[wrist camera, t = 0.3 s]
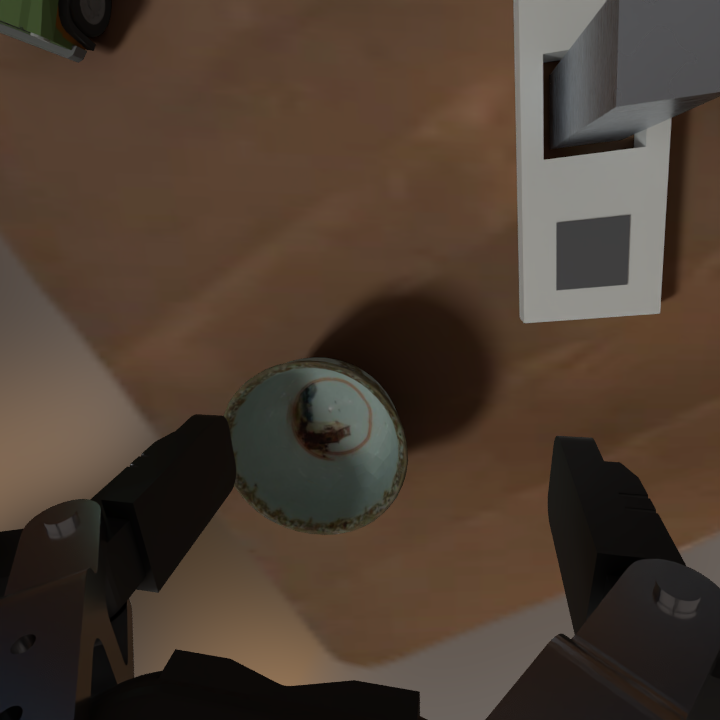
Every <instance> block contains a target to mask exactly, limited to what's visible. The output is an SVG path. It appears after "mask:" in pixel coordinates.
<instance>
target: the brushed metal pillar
mask: <svg viewBox="0 0 720 720" xmlns="http://www.w3.org/2000/svg"><path fill="white" fill-rule="evenodd" d="M717 97H720V0H607V1H606V2H605V3H604V5H603V6H602V7H601V9H600V10H599V11H598V13H597V14H596V15H595V16H594V18H593V19H592V20H591V22H590V23H589V24H588V26H587V27H586V28H585V30H584V31H583V32H582V33H581V35H580V36H579V37H578V39H577V40H576V41H575V43H574V44H573V45H572V46H571V48H570V49H569V50H568V52H567V53H566V54H565V56H564V57H563V58H562V60H561V61H560V62H559V63H558V65H557V66H556V67H555V69H554V70H553V71H552V73H551V74H550V75H549V149H557V148H565V147H572V146H580V145H587V144H595V143H602V142H610V141H617V140H622V139H625V138H627V137H629V136H631V135H634V134H636V133H638V132H640V131H643V130H645V129H647V128H649V127H652V126H654V125H656V124H659V123H661V122H663V121H665V120H668V119H670V118H672V117H674V116H677V115H679V114H681V113H683V112H686V111H688V110H690V109H692V108H695V107H697V106H699V105H702V104H704V103H706V102H708V101H711V100H713V99H715V98H717Z"/></svg>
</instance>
